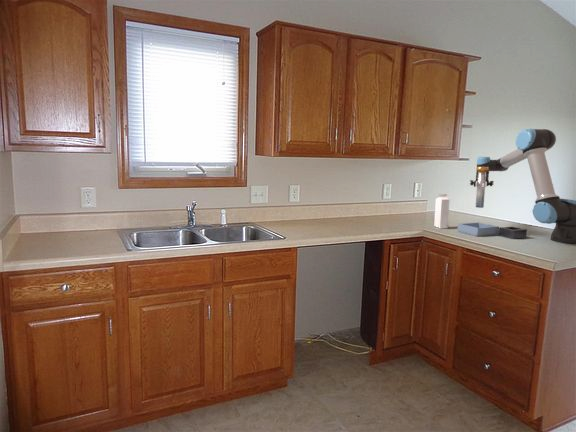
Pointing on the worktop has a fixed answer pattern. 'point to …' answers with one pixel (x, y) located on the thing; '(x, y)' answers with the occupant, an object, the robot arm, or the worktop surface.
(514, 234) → the hitch block
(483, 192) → the pin
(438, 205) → the milk
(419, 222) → the worktop surface
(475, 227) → the tray
